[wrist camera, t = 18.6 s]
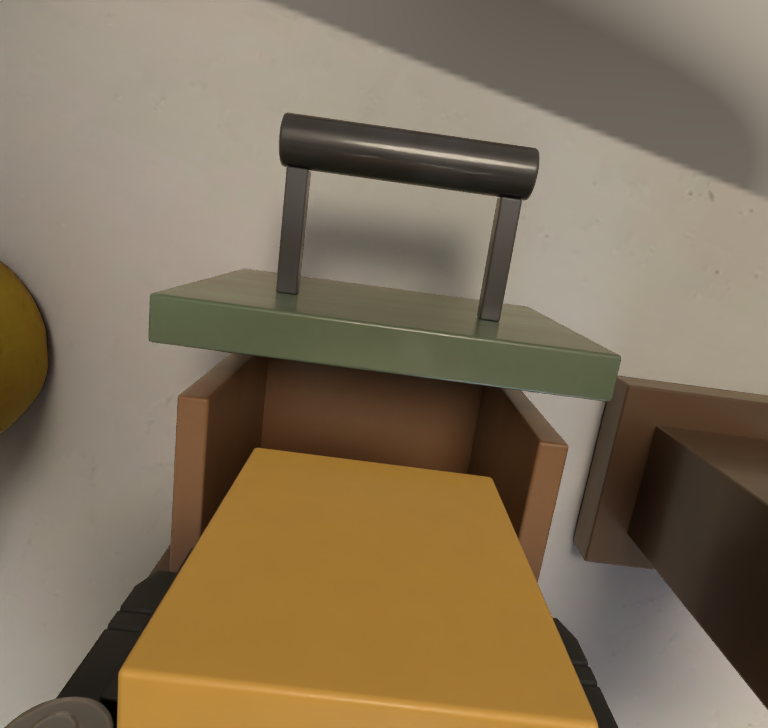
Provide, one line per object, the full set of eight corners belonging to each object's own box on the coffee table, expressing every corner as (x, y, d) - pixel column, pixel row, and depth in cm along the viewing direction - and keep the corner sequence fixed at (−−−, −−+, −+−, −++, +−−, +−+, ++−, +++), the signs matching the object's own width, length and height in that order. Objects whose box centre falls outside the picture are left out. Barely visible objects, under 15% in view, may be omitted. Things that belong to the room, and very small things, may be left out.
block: (236, 649, 12) (106, 1016, 7) (254, 445, 11) (114, 671, 6) (453, 674, 13) (512, 1054, 7) (492, 475, 11) (603, 726, 6)
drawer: (252, 134, 20) (155, 65, 12) (555, 178, 21) (676, 140, 12) (220, 570, 25) (133, 751, 16) (471, 600, 25) (517, 793, 16)
